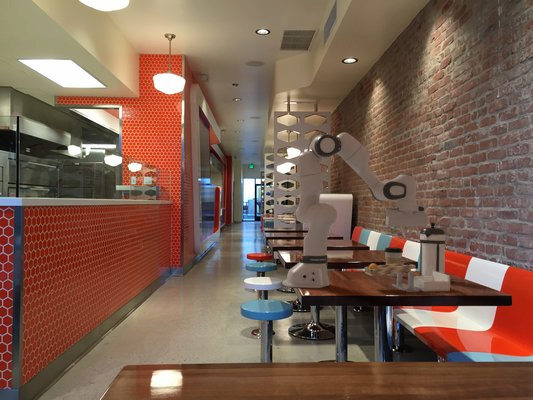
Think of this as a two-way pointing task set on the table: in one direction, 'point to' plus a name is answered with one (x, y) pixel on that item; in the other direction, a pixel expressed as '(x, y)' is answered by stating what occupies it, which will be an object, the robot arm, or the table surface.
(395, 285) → the lever stand
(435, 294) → the table surface
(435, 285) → the dish
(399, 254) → the coffee cup
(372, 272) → the lever ramp
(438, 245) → the coffee press
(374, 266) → the ball
